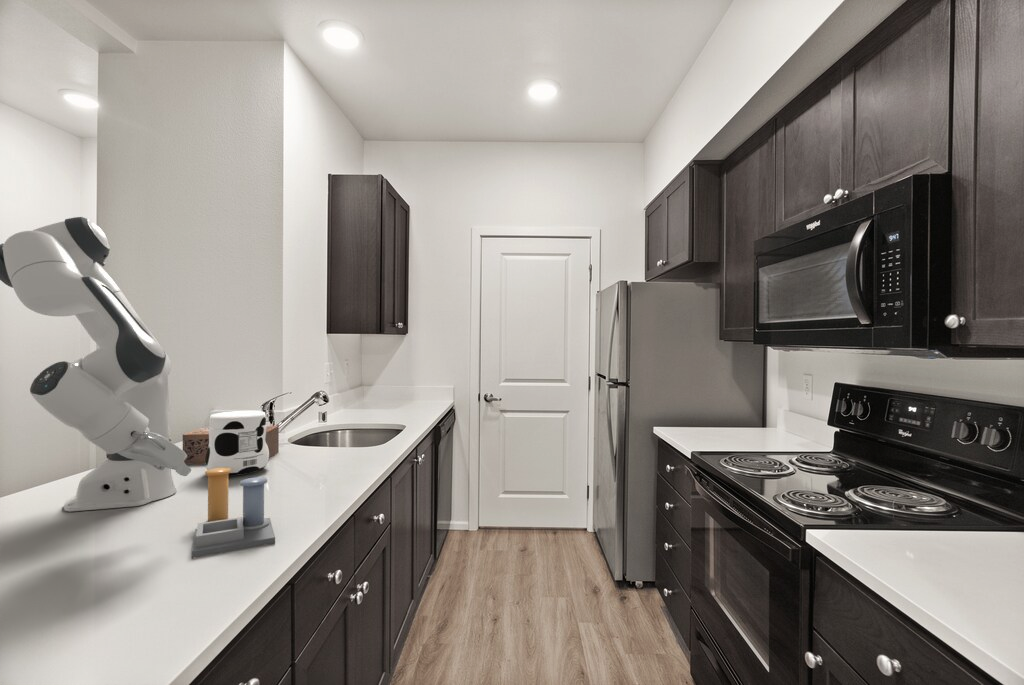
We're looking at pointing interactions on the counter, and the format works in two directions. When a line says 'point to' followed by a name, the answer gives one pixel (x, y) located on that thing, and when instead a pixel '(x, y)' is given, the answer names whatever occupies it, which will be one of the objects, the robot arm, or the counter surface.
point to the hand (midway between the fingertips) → (175, 470)
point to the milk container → (237, 442)
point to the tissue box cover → (199, 442)
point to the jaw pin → (217, 493)
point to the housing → (237, 525)
